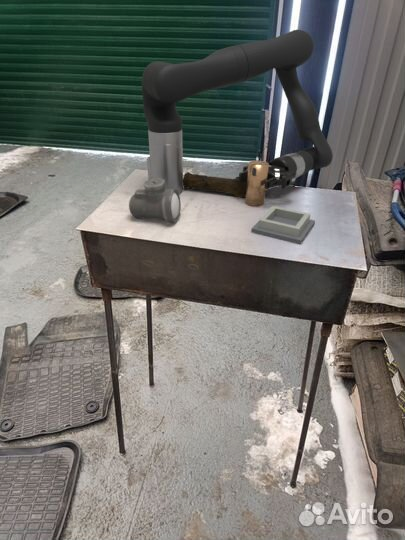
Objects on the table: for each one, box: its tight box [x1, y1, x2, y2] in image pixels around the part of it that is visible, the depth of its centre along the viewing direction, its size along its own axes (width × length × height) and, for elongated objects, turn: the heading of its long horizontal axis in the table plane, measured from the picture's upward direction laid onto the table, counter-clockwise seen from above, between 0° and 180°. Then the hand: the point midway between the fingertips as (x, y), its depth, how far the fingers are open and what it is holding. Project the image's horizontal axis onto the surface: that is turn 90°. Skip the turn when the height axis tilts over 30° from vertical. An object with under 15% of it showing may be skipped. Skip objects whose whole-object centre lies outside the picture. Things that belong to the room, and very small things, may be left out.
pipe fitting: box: [128, 178, 182, 223], centre depth 94 cm, size 12×8×10 cm
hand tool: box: [183, 171, 247, 198], centre depth 109 cm, size 23×5×6 cm, turn 68°
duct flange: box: [250, 205, 316, 245], centre depth 92 cm, size 12×12×3 cm
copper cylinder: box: [244, 160, 270, 208], centre depth 102 cm, size 5×5×11 cm
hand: (252, 181), depth 101 cm, fingers open, 8 cm apart
